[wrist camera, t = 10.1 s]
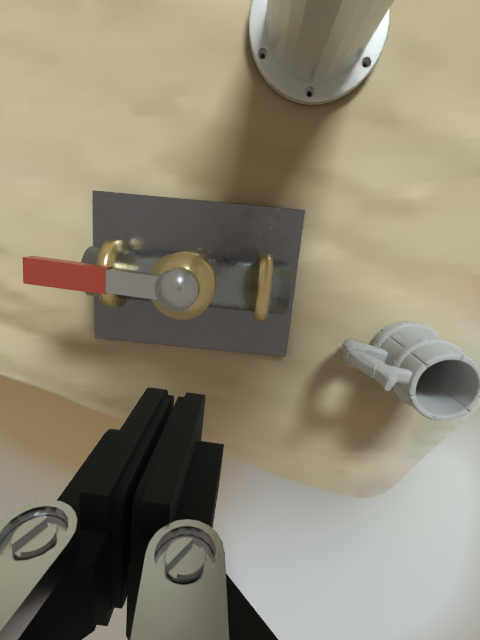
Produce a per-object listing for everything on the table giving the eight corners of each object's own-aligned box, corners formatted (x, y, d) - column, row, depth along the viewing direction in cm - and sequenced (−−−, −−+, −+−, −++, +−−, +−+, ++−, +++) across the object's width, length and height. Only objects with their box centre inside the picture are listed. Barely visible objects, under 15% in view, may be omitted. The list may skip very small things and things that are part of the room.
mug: (421, 387, 40) (490, 450, 28) (323, 366, 40) (352, 421, 28) (444, 326, 38) (528, 367, 27) (341, 304, 38) (380, 335, 26)
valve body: (96, 191, 36) (55, 180, 29) (303, 210, 36) (316, 204, 28) (98, 335, 40) (63, 358, 33) (284, 354, 40) (291, 381, 32)
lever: (202, 270, 30) (199, 272, 28) (198, 310, 31) (195, 314, 29) (34, 247, 30) (22, 248, 28) (35, 288, 31) (23, 291, 29)
